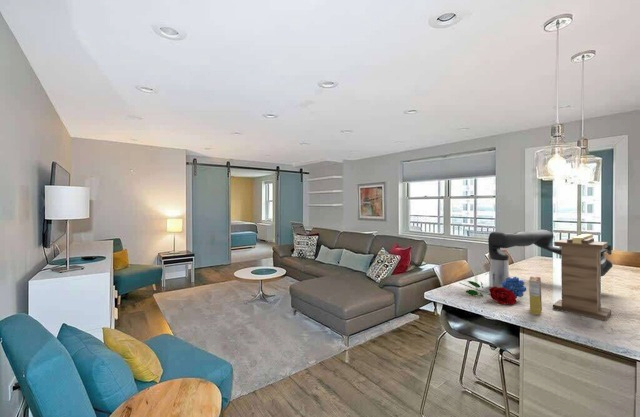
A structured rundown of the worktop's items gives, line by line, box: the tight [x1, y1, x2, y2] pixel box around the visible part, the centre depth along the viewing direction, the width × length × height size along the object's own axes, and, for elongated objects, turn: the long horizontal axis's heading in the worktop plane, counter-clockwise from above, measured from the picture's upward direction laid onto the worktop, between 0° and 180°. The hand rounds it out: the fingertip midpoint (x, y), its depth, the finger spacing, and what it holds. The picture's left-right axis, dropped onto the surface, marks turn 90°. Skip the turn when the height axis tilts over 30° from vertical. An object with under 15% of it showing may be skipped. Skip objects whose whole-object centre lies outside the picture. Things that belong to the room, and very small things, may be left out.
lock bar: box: [572, 233, 594, 244], centre depth 134 cm, size 24×3×2 cm, turn 128°
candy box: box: [528, 276, 543, 316], centre depth 132 cm, size 9×4×15 cm, turn 140°
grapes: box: [501, 276, 527, 299], centre depth 150 cm, size 12×7×12 cm, turn 38°
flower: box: [459, 280, 518, 306], centre depth 152 cm, size 9×9×30 cm
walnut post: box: [552, 237, 612, 321], centre depth 131 cm, size 14×18×34 cm
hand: (589, 242), depth 142 cm, fingers open, 8 cm apart
